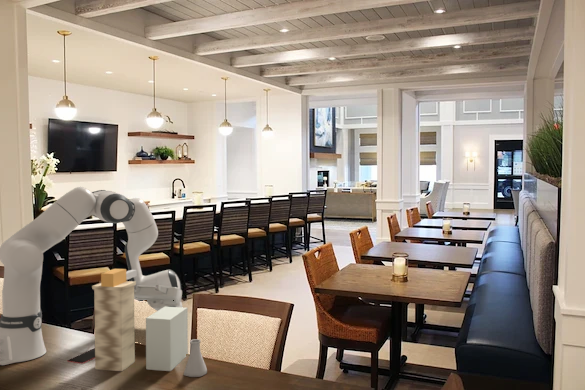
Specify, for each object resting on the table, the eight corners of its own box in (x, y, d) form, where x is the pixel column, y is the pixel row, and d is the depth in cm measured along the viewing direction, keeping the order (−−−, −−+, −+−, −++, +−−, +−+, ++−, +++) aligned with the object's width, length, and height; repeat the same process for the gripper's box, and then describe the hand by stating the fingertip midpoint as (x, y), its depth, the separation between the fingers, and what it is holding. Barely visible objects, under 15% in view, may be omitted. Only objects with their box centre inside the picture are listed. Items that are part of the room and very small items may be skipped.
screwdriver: (113, 286, 154) (113, 273, 154) (101, 286, 154) (101, 273, 154) (139, 275, 171) (139, 264, 170) (128, 275, 171) (128, 263, 171)
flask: (202, 378, 149) (202, 345, 149) (179, 376, 151) (179, 343, 150) (211, 369, 156) (210, 337, 156) (189, 367, 158) (189, 336, 157)
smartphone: (65, 360, 163) (96, 346, 176) (65, 362, 163) (96, 348, 176) (82, 363, 161) (112, 349, 174) (82, 365, 161) (112, 350, 174)
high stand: (93, 369, 156) (92, 285, 155) (108, 359, 164) (107, 280, 163) (123, 371, 154) (122, 287, 153) (136, 361, 163) (135, 281, 162)
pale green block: (146, 369, 156) (145, 318, 156) (165, 353, 170) (164, 306, 169) (170, 371, 155) (170, 319, 154) (187, 355, 169) (187, 307, 168)
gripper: (135, 288, 194) (119, 276, 182) (186, 290, 191) (173, 279, 179) (131, 304, 191) (115, 293, 179) (183, 307, 188) (169, 296, 176)
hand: (144, 286), depth 179 cm, fingers open, 8 cm apart
